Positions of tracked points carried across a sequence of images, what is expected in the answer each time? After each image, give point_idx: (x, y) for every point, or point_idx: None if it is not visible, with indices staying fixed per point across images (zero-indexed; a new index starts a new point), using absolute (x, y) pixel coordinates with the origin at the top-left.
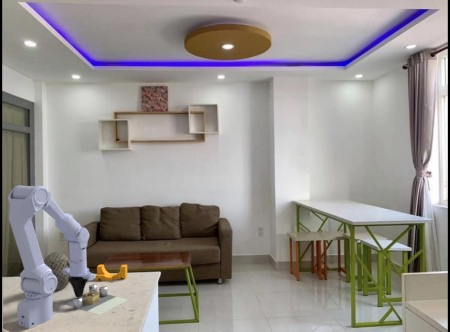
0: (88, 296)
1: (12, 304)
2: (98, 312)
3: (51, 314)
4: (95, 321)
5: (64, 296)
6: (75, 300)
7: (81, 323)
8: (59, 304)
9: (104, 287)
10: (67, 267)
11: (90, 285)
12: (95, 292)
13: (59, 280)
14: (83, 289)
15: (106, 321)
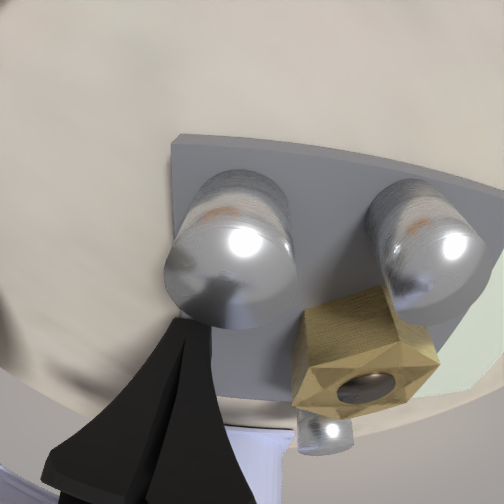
0: (365, 407)
1: (11, 370)
2: (460, 383)
3: (279, 462)
4: (455, 392)
5: (41, 281)
6: (325, 454)
7: (407, 414)
8: (140, 362)
9: (460, 276)
10: None
11: (181, 289)
12: (388, 360)
13: None
14: (210, 374)
15: (493, 375)
